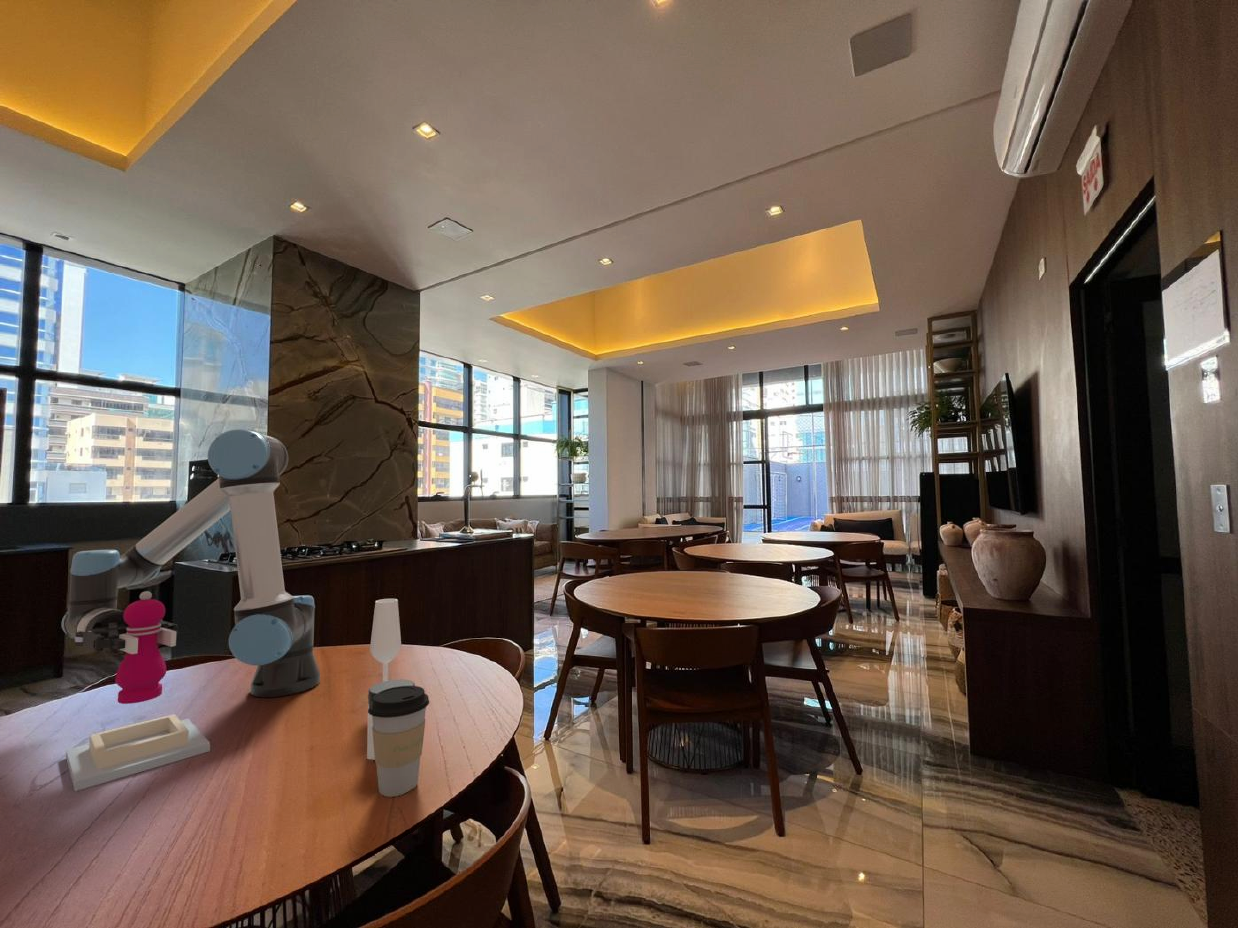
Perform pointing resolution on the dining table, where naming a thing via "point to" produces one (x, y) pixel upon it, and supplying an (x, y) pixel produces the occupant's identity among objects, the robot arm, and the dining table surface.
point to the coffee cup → (398, 737)
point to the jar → (372, 693)
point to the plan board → (134, 750)
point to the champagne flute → (385, 633)
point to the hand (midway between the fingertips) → (154, 642)
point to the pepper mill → (142, 652)
